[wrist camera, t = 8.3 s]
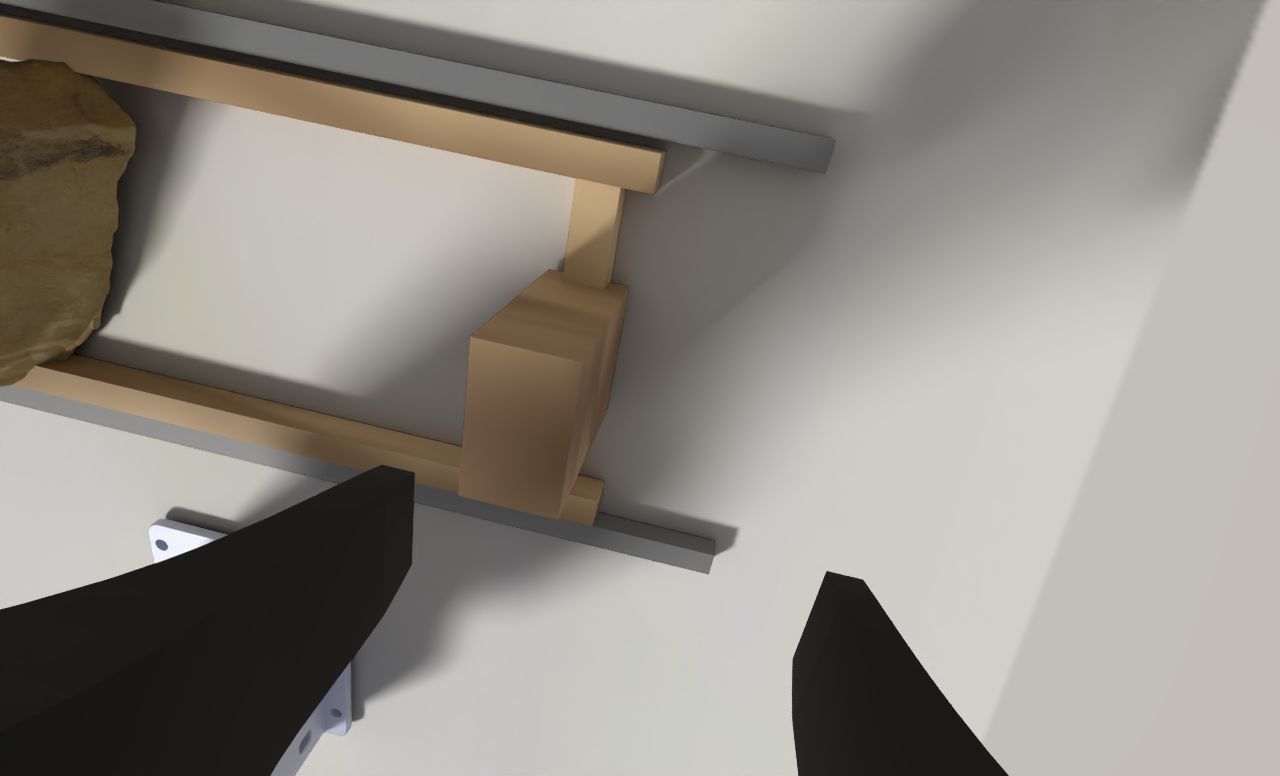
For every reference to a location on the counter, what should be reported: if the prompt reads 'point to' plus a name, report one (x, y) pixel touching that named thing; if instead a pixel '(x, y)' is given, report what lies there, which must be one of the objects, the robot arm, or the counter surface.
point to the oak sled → (498, 352)
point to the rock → (55, 209)
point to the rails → (135, 8)
